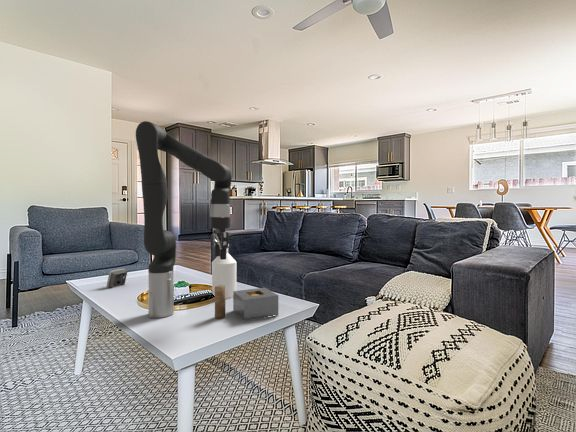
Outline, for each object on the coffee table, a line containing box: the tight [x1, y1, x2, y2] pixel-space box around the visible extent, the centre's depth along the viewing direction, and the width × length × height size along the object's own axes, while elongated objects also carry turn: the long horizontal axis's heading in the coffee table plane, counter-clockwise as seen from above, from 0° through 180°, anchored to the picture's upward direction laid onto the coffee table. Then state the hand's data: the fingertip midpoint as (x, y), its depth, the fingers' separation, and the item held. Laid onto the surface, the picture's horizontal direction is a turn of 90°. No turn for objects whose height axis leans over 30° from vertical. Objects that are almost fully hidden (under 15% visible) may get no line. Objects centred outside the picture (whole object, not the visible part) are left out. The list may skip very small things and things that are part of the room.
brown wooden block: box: [214, 285, 226, 320], centre depth 125 cm, size 4×4×12 cm
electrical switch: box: [106, 268, 128, 289], centre depth 176 cm, size 9×5×9 cm, turn 159°
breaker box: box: [232, 287, 279, 322], centre depth 130 cm, size 14×14×8 cm
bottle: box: [211, 243, 238, 299], centre depth 157 cm, size 12×12×25 cm
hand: (220, 257), depth 126 cm, fingers open, 8 cm apart
